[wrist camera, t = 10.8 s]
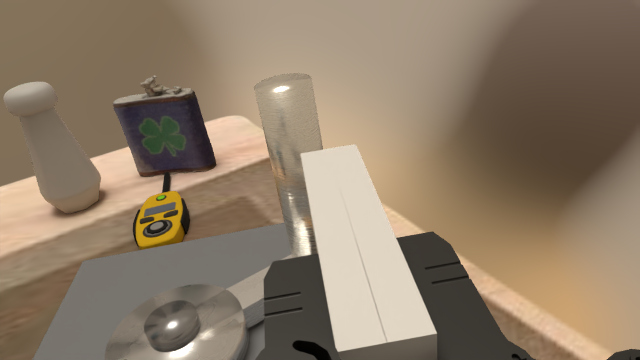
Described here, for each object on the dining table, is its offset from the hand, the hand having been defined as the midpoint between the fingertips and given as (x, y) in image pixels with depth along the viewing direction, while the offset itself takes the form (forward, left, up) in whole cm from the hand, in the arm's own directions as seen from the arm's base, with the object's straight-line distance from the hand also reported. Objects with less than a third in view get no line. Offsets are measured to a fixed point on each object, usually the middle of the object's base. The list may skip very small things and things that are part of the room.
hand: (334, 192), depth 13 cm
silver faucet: (-6, +11, -15) cm, 20 cm away
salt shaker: (-25, +35, -16) cm, 46 cm away
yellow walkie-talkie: (-15, +30, -17) cm, 37 cm away
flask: (-15, +39, -16) cm, 45 cm away
